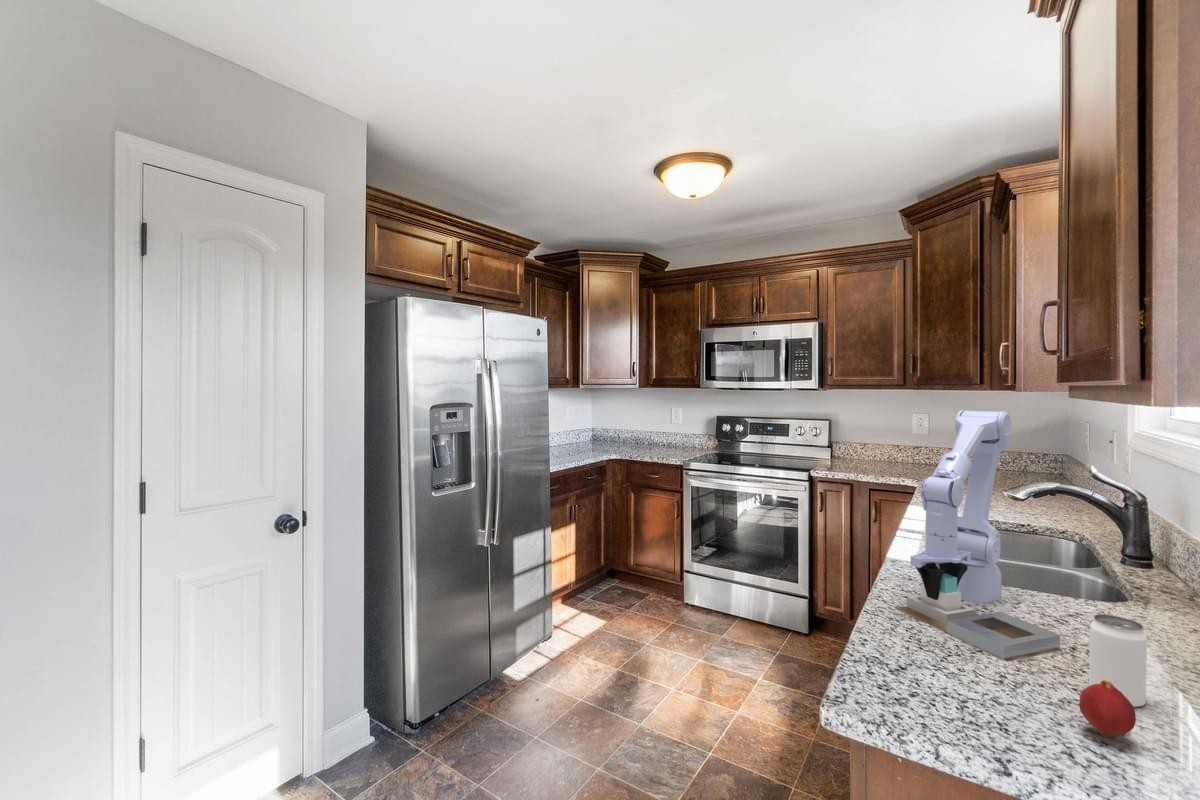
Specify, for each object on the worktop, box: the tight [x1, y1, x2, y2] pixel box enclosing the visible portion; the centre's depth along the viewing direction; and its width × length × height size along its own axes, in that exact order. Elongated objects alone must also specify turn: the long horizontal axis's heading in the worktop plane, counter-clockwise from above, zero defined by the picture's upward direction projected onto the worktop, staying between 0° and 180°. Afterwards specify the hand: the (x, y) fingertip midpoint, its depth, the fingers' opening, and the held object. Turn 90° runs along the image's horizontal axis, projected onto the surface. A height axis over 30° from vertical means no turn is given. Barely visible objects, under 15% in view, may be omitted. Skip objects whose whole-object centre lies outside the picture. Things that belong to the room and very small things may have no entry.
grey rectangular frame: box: [906, 594, 977, 625], centre depth 114 cm, size 8×10×2 cm
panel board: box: [895, 605, 1063, 667], centre depth 108 cm, size 14×24×1 cm, turn 17°
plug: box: [920, 573, 962, 612], centre depth 114 cm, size 4×6×8 cm, turn 17°
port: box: [946, 611, 1061, 661], centre depth 102 cm, size 14×11×2 cm
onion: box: [1078, 680, 1137, 738], centre depth 75 cm, size 6×6×8 cm
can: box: [1088, 613, 1148, 708], centre depth 85 cm, size 6×6×12 cm
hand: (940, 596), depth 114 cm, fingers closed on plug, 4 cm apart
